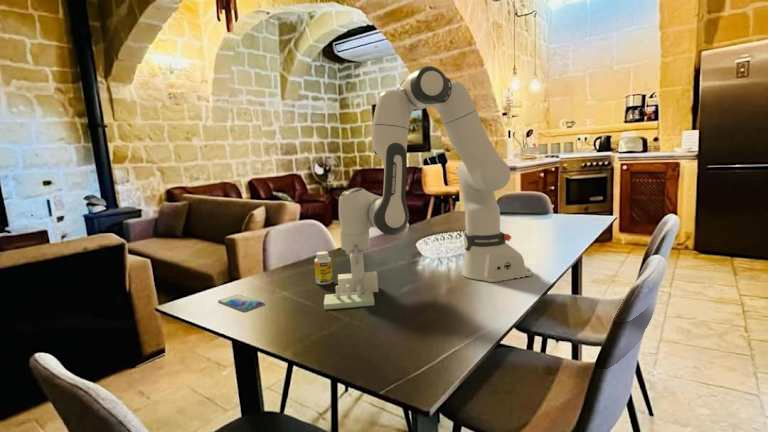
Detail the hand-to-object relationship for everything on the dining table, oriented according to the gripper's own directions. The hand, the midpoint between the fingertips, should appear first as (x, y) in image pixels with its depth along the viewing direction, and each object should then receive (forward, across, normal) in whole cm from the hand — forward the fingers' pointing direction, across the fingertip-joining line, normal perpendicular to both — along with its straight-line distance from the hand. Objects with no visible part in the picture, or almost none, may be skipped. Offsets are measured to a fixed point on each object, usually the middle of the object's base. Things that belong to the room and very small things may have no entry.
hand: (358, 285), depth 131 cm
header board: (+2, -10, +3) cm, 10 cm away
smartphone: (+2, -2, +35) cm, 35 cm away
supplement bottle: (+2, +12, +11) cm, 16 cm away
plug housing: (+2, 0, 0) cm, 2 cm away
